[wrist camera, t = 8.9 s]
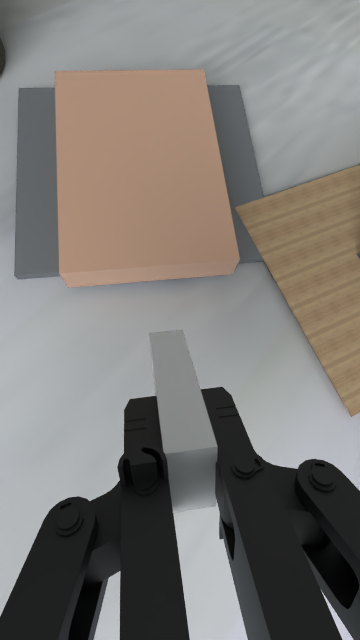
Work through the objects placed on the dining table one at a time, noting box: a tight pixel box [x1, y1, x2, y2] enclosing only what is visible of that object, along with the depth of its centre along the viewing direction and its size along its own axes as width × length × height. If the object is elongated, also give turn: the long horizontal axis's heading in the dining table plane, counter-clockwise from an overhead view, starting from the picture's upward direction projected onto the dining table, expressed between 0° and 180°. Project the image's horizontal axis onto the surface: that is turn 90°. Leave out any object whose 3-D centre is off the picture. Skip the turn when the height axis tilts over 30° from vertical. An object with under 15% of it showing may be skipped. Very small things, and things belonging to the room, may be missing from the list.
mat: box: [14, 85, 264, 279], centre depth 25 cm, size 18×16×1 cm
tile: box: [55, 69, 240, 288], centre depth 23 cm, size 11×2×16 cm
